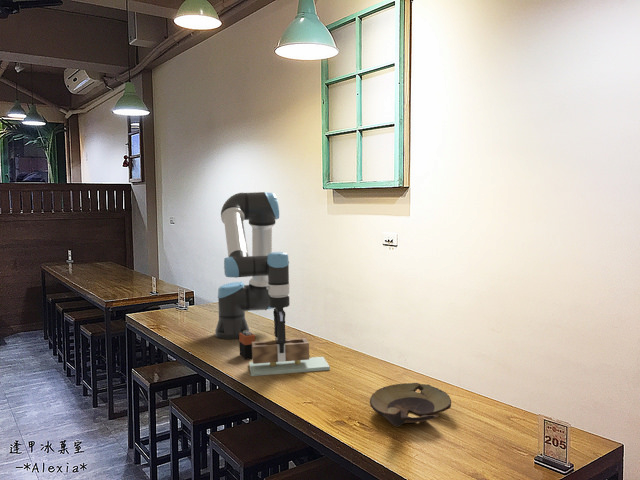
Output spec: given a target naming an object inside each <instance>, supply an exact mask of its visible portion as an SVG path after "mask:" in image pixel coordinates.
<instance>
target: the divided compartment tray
mask: <svg viewBox="0 0 640 480" xmlns="http://www.w3.org/2000/svg"><path fill="white" fill-rule="evenodd" d="M276 342H278V340H275V339H274V340H273V339H272V340H260V341H259V340H258V341H255V342H252V358H251V360H252V362H253V364H257V363H271V362H278V350H277V344H276ZM285 358H286V361H297V360H309V358H310V342H309V341H308V339H307V338H305V337H302V338H290V339H289V338H288V339H286V343H285ZM283 362H284V361H283Z"/></svg>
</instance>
